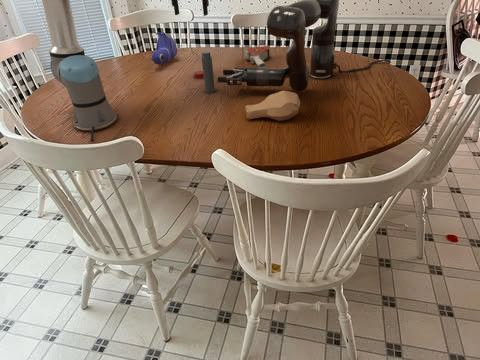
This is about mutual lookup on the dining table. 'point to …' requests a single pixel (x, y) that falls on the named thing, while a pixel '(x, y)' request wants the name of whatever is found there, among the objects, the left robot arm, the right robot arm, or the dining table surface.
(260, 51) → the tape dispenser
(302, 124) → the dining table surface
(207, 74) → the dark grey piece
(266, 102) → the squash
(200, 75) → the lid
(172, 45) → the toy
